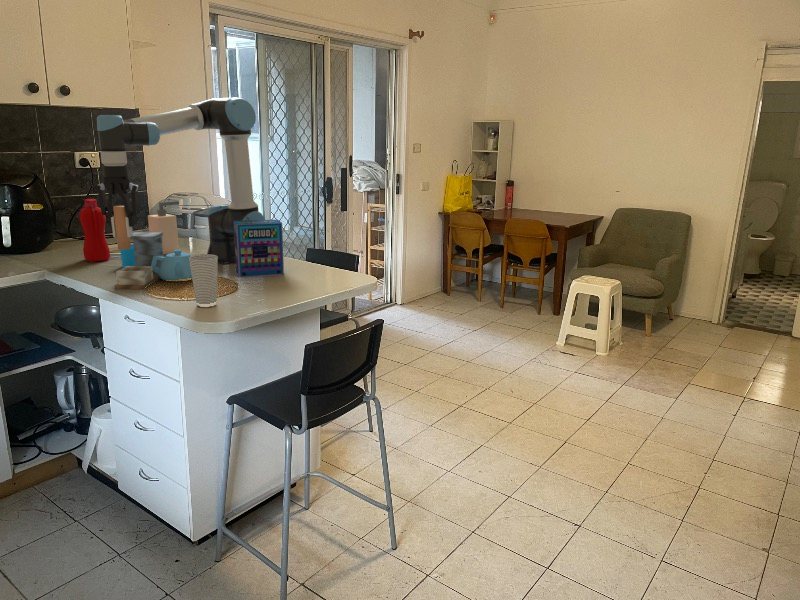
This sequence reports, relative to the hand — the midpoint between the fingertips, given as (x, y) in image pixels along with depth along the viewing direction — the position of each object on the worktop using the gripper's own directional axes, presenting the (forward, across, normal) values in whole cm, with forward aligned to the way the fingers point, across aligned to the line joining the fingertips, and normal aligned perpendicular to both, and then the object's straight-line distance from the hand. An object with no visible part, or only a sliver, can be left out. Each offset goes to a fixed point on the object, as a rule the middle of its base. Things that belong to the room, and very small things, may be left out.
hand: (123, 236), depth 199 cm
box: (+19, -40, -25) cm, 50 cm away
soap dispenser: (+19, +9, -65) cm, 68 cm away
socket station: (+18, 0, -9) cm, 21 cm away
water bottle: (+19, +31, -44) cm, 57 cm away
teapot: (+19, -12, -15) cm, 27 cm away
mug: (+19, +11, -35) cm, 41 cm away
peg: (+4, 0, 0) cm, 4 cm away
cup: (+18, -32, +19) cm, 41 cm away
